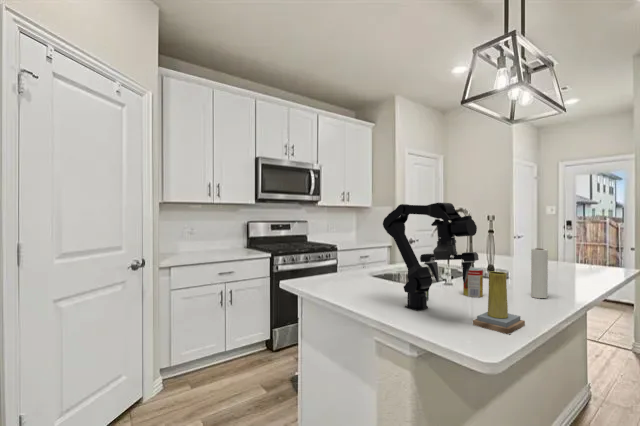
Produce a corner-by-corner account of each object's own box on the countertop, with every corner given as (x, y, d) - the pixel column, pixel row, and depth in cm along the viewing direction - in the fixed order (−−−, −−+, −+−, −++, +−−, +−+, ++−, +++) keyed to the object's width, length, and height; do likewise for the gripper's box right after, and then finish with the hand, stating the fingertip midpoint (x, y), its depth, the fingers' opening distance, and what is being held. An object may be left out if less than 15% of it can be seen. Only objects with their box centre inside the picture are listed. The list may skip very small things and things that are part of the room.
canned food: (479, 293, 155) (479, 267, 155) (485, 297, 147) (485, 270, 147) (461, 293, 156) (461, 267, 156) (466, 297, 148) (466, 269, 148)
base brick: (472, 324, 112) (472, 320, 112) (490, 317, 120) (490, 313, 120) (508, 334, 103) (508, 329, 103) (524, 325, 111) (524, 320, 111)
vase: (490, 318, 109) (490, 273, 109) (484, 312, 115) (485, 270, 115) (510, 319, 108) (511, 274, 108) (504, 313, 114) (504, 271, 114)
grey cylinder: (544, 300, 144) (544, 249, 144) (528, 297, 149) (529, 248, 149) (550, 297, 149) (550, 248, 149) (535, 294, 154) (535, 247, 154)
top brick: (477, 320, 112) (477, 315, 112) (492, 314, 118) (492, 309, 118) (506, 327, 105) (506, 322, 105) (520, 320, 112) (520, 316, 112)
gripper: (412, 239, 120) (416, 284, 118) (467, 236, 108) (472, 285, 107) (424, 239, 129) (427, 280, 127) (476, 235, 117) (481, 281, 116)
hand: (450, 282), depth 119 cm, fingers open, 9 cm apart
